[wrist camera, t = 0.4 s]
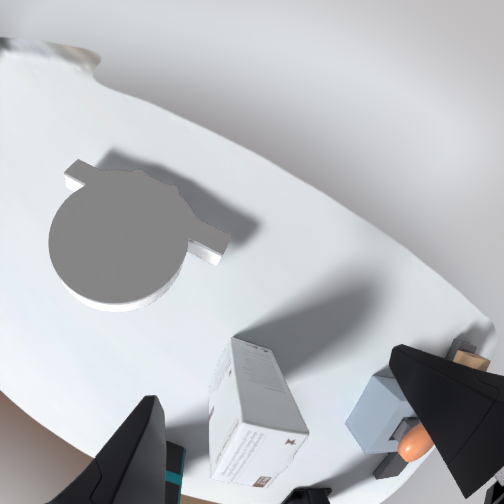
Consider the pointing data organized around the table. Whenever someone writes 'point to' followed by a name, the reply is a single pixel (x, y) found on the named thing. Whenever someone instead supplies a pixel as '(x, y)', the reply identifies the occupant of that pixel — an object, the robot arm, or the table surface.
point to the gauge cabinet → (379, 415)
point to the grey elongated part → (125, 237)
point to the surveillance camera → (173, 472)
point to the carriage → (471, 360)
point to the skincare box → (251, 417)
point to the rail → (394, 460)
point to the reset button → (412, 440)
